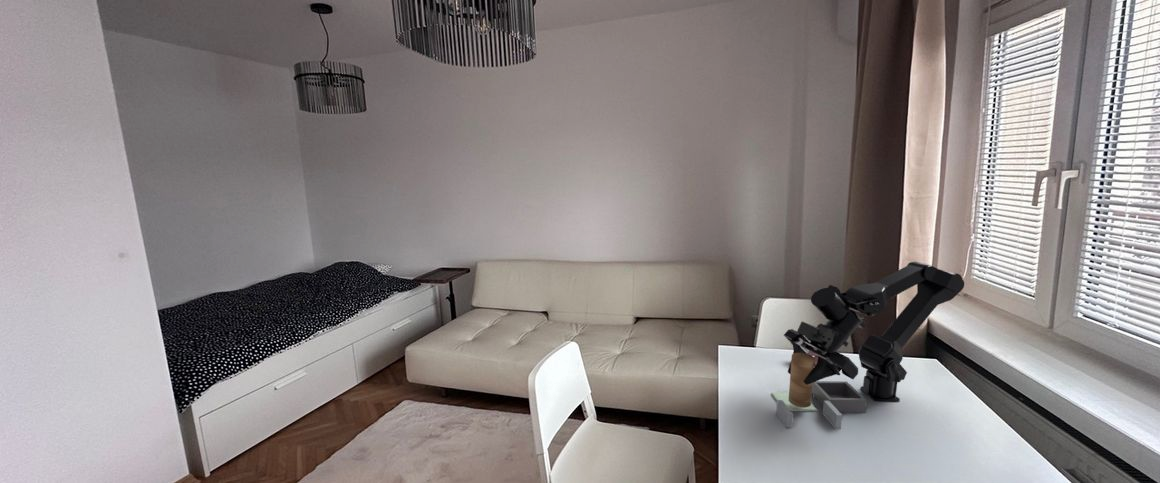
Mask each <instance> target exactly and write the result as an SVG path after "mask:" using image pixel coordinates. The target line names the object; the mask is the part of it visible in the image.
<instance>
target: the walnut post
mask: <svg viewBox="0 0 1160 483" xmlns="http://www.w3.org/2000/svg"><path fill="white" fill-rule="evenodd" d="M814 362H815V358H814V356H811V355H809V354H806V353H792V354H791V360H790V363H791V373H790V374H789V387H788V388H789V389H788V392H789V402H790V403H791V404H793V405H795V406H798V407H809V406H810V405H811V403H812V396H813V395H812V385H813V383H811V384H808V385H806V384H805V383H804V380H805V379H806V377H807V376H808V375H809V373H810V372H811V371H812V370H813V368H814V367H815V365H814Z"/></svg>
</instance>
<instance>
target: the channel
mask: <svg viewBox="0 0 1160 483" xmlns="http://www.w3.org/2000/svg"><path fill="white" fill-rule="evenodd" d="M822 408H823V409H822V415H823V416H824V417H825V418H826V419H827V420H828V421H829V423H831V425H832V426H833V427H834V428H835V429H839V430H840V429H842V420H843V414H842V413H840V412H839V411H838V410H837V409H836V408H835V407H834V406H833V405H832V403H831V402H830V401H824V406H822ZM776 414H777V416H778V417H779V419H780V420H781V422H782V424H783V426H784V427H785V428H786V429H789V428H790V429H792V427H793V415H794V414H793V412H792V411H790V410H789V409H788V407H787V406H786V404H785V403H784V402H783V400H777V401H776Z"/></svg>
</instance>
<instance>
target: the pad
mask: <svg viewBox="0 0 1160 483" xmlns="http://www.w3.org/2000/svg"><path fill="white" fill-rule="evenodd" d="M771 395H772V396H773V398H774V399H775V401H776V402H777V400H783V402H784V403H785V404H786V406H787V407H788V409H789V410H790V411H791V412H817V411H818V409H817V408H816V406H815V405H814V404H813V403H812V402H811V405H810V406H809V407H798V406H795V405H793V404H791V403H790V402H789V391H771Z"/></svg>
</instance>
